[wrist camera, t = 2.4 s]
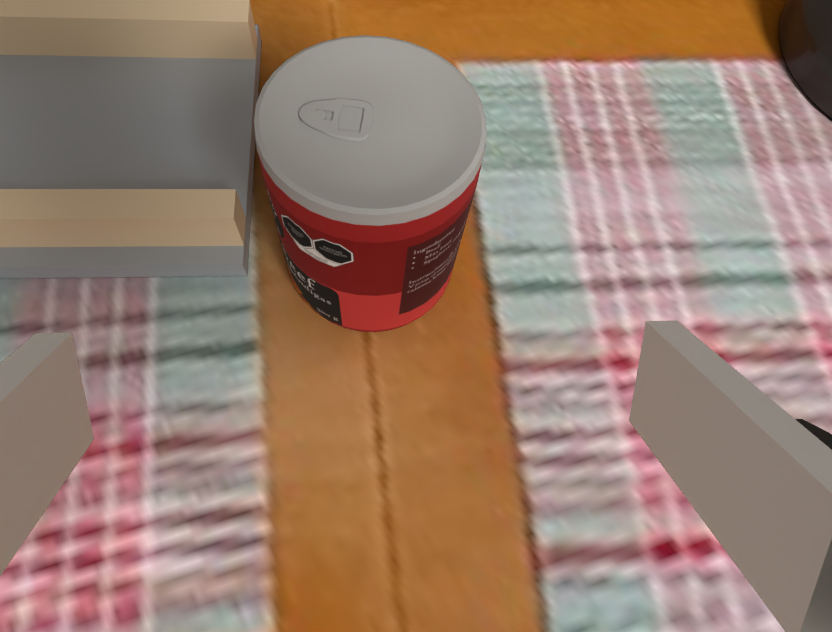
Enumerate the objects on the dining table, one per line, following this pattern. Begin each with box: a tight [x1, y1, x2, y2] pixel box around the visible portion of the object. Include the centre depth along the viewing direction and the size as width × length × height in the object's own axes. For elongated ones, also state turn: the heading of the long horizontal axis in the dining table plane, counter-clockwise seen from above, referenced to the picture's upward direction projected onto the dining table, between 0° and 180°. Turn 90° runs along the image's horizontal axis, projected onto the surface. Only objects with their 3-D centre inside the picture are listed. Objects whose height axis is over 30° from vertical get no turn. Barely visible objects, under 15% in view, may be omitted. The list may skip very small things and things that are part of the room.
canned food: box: [254, 36, 487, 332], centre depth 26 cm, size 8×8×11 cm
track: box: [0, 0, 261, 278], centre depth 31 cm, size 18×15×4 cm
